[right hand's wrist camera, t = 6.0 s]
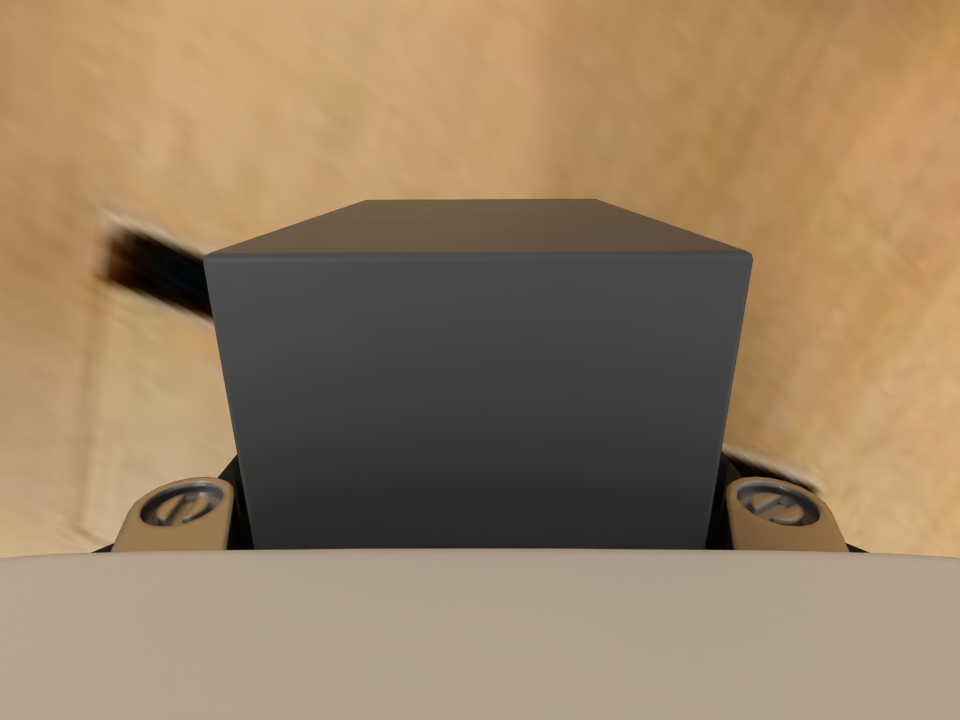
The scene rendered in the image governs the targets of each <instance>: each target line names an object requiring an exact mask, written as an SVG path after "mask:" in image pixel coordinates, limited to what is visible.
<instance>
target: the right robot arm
mask: <svg viewBox="0 0 960 720" xmlns="http://www.w3.org/2000/svg"><path fill="white" fill-rule="evenodd" d="M0 720H960V558H952V557H938V556H922V555H906V554H889V553H869V552H867V551H864V550H862V549H859V548H857V547H854V546H852V545H849V544H847V543H845V541H844V539H843V536H842V534H841V532H840V530H839V527H838V525H837V523H836V521H835V518H834V516H833V514H832V512H831V510H830V509H829V508H828V506H827V505H826V503H824V502H823V501H822V500H821V499H819V498H818V497H817V496H816V495H814V494H812V493H811V492H809V491H807V490H805V489H803V488H801V487H799V486H796V485H793V484H791V483H788V482H785V481H780V480H776V479H772V478H762V477H749V478H743V477H742V476H741V475H740V473H739V472H738V471H737V470H736V469H735V467H734V466H733V465H732V464H731V462H730V461H729V460H728V459H727V457H726V456H725V455H724V454H723V453H722V451H721V455H720V461H719V467H718V473H717V479H716V485H715V491H714V497H713V503H712V509H711V515H710V521H709V527H708V533H707V539H706V545H705V550H653V549H297V550H254V544H253V539H252V533H251V528H250V522H249V516H248V511H247V505H246V499H245V494H244V488H243V483H242V477H241V471H240V466H239V460H238V454H237V455H236V456H235V457H234V458H233V460H232V461H231V462H230V463H229V465H228V466H227V467H226V468H225V470H224V471H223V472H222V473H221V474H220V476H219V477H218V478H211V477H198V478H188V479H184V480H180V481H175V482H172V483H169V484H167V485H164V486H161V487H159V488H157V489H155V490H153V491H151V492H149V493H148V494H146V495H144V496H143V497H142V498H141V499H139V500H138V501H137V502H136V503H134V505H133V506H132V508H131V509H130V510H129V512H128V514H127V516H126V518H125V521H124V523H123V525H122V527H121V530H120V532H119V534H118V536H117V539H116V541H115V543H114V544H111V545H109V546H106V547H104V548H101V549H99V550H96V551H94V552H92V553H76V554H52V555H38V556H23V557H9V558H0Z"/></svg>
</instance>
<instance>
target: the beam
mask: <svg viewBox="0 0 960 720" xmlns="http://www.w3.org/2000/svg"><path fill="white" fill-rule="evenodd" d="M752 262H753V259H752V254H751V253H749V252H747V251H745V250H742V249H739V248H736V247H733V246H730V245H727V244H724V243H721V242H718V241H716V240H713V239H710V238H707V237H704V236H701V235H698V234H695V233H692V232H689V231H687V230H684V229H681V228H678V227H675V226H672V225H669V224H666V223H663V222H660V221H658V220H655V219H652V218H649V217H646V216H643V215H640V214H637V213H634V212H631V211H629V210H626V209H623V208H620V207H617V206H614V205H611V204H608V203H605V202H602V201H599V200H597V199H487V200H365V201H362V202H359V203H356V204H353V205H350V206H347V207H344V208H341V209H338V210H335V211H332V212H329V213H327V214H324V215H321V216H318V217H315V218H312V219H309V220H306V221H303V222H300V223H297V224H294V225H291V226H288V227H285V228H282V229H279V230H276V231H274V232H271V233H268V234H265V235H262V236H259V237H256V238H253V239H250V240H247V241H244V242H241V243H238V244H235V245H232V246H229V247H226V248H224V249H221V250H218V251H215V252H212V253H209V254H207V255H205V257H204V261H203V263H204V269H205V275H206V280H207V286H208V292H209V297H210V303H211V308H212V314H213V320H214V325H215V331H216V336H217V342H218V348H219V353H220V359H221V365H222V370H223V376H224V381H225V387H226V393H227V398H228V404H229V410H230V415H231V421H232V426H233V432H234V438H235V443H236V449H237V454H238V460H239V466H240V471H241V477H242V483H243V488H244V494H245V499H246V505H247V511H248V516H249V522H250V528H251V533H252V539H253V544H254V550H297V549H653V550H705V545H706V539H707V533H708V527H709V521H710V515H711V509H712V503H713V497H714V491H715V485H716V479H717V473H718V467H719V461H720V455H721V449H722V443H723V437H724V431H725V425H726V419H727V413H728V407H729V401H730V395H731V389H732V383H733V376H734V370H735V364H736V358H737V352H738V346H739V340H740V334H741V328H742V322H743V316H744V310H745V304H746V298H747V292H748V286H749V280H750V274H751V268H752Z"/></svg>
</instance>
